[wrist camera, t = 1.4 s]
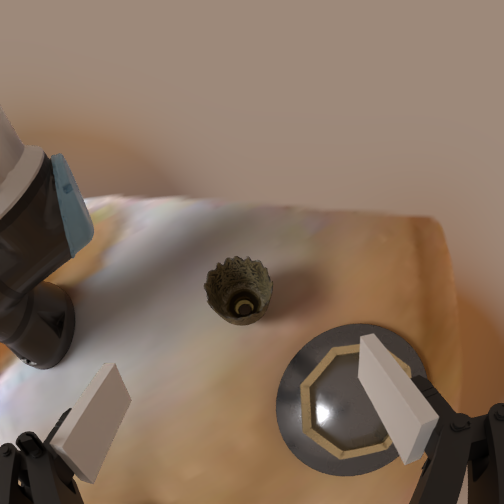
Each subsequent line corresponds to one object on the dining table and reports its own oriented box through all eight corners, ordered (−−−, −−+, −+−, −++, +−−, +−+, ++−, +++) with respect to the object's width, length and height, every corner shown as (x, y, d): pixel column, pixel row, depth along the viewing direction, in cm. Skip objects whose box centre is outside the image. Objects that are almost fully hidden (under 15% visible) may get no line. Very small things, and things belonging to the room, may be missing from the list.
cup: (279, 328, 35) (281, 307, 28) (224, 343, 35) (211, 325, 28) (264, 278, 39) (262, 248, 32) (212, 292, 39) (199, 264, 32)
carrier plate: (241, 411, 30) (239, 411, 28) (343, 298, 37) (347, 292, 35) (359, 498, 22) (363, 503, 20) (447, 378, 29) (454, 376, 27)
